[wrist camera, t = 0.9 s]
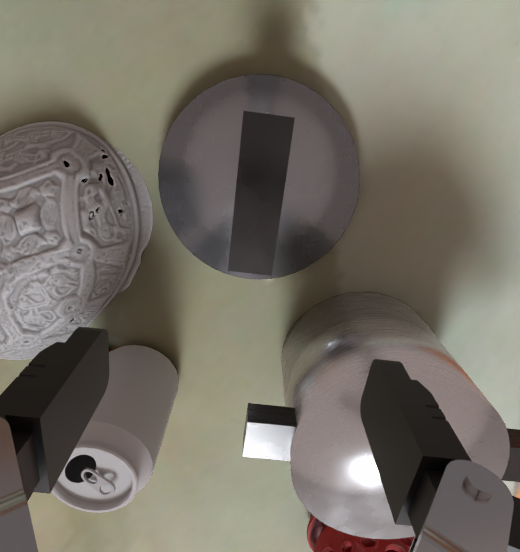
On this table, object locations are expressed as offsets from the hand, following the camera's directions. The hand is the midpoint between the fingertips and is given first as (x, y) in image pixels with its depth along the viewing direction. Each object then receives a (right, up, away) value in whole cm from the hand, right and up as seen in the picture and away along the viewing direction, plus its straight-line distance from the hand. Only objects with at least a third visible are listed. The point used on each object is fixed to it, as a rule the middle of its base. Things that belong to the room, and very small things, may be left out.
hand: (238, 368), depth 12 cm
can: (-11, -6, +25) cm, 28 cm away
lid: (+1, +10, +19) cm, 21 cm away
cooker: (+10, -5, +24) cm, 27 cm away
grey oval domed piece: (-18, +5, +21) cm, 28 cm away
